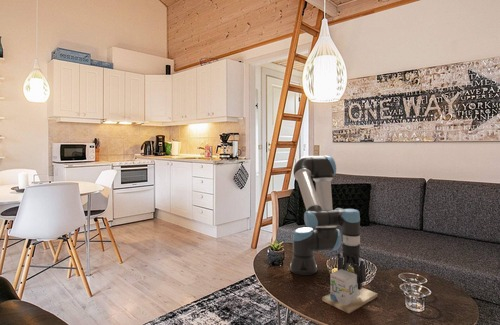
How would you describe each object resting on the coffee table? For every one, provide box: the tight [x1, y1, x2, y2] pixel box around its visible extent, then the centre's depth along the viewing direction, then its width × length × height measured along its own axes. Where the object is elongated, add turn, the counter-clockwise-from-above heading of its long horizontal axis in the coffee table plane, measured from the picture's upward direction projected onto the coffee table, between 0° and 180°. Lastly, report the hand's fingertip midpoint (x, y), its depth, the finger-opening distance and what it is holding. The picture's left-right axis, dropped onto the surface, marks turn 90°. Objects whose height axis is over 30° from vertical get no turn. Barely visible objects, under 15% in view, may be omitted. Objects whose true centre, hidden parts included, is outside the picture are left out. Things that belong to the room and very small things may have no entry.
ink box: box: [329, 269, 357, 306], centre depth 138 cm, size 8×8×12 cm
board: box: [321, 287, 378, 314], centre depth 141 cm, size 14×22×2 cm, turn 127°
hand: (351, 292), depth 142 cm, fingers open, 6 cm apart
